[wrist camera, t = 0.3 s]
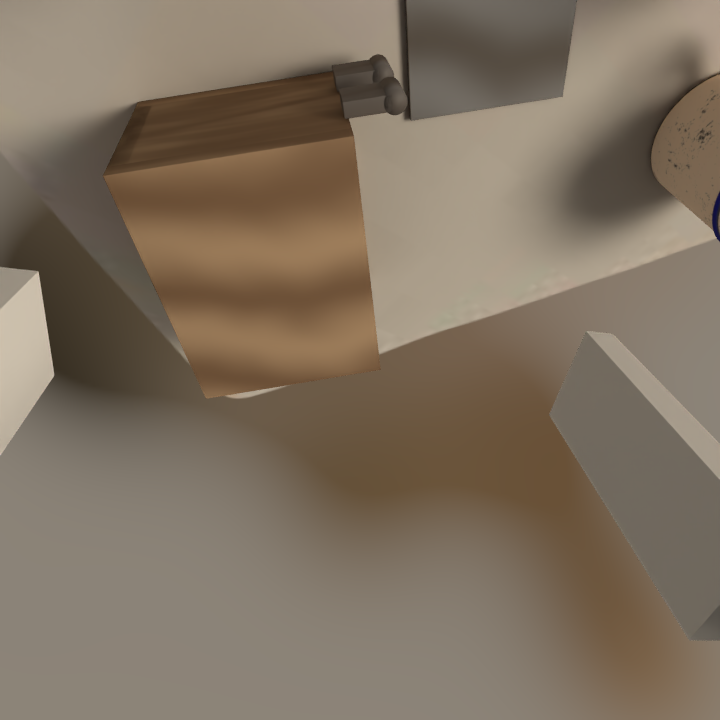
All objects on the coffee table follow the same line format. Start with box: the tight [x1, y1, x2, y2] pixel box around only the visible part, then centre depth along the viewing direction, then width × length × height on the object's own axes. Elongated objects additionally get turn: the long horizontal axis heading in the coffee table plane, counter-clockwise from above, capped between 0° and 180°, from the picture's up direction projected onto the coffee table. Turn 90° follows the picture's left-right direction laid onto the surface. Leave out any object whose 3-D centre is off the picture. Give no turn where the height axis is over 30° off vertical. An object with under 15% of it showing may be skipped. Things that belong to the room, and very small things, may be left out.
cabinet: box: [103, 0, 577, 398], centre depth 34 cm, size 20×26×10 cm
